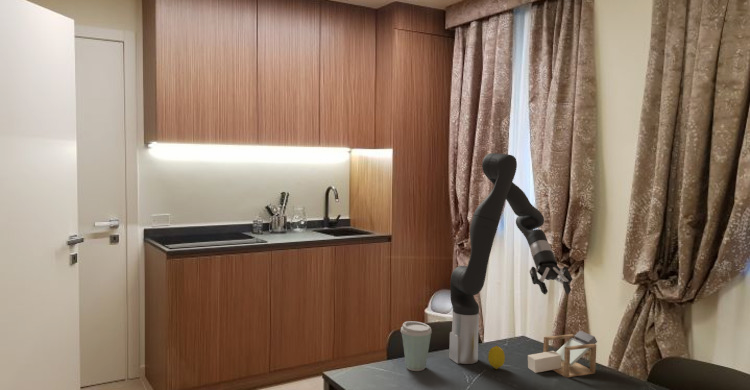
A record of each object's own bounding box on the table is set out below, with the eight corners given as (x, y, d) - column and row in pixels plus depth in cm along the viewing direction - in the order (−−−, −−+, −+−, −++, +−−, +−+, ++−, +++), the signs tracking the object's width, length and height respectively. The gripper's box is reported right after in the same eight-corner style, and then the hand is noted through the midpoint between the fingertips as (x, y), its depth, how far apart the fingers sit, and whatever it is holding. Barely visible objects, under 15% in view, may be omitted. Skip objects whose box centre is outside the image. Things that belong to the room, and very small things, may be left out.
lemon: (504, 372, 179) (505, 349, 179) (487, 371, 180) (488, 347, 180) (504, 366, 184) (504, 343, 184) (487, 365, 185) (488, 342, 185)
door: (572, 367, 178) (569, 362, 178) (554, 358, 187) (551, 353, 186) (599, 342, 182) (596, 337, 181) (580, 334, 190) (577, 329, 190)
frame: (566, 377, 176) (567, 348, 175) (542, 364, 187) (543, 337, 187) (595, 373, 180) (596, 344, 179) (570, 361, 191) (571, 334, 191)
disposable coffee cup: (433, 364, 186) (434, 321, 185) (429, 375, 175) (430, 330, 175) (402, 361, 188) (403, 318, 187) (397, 372, 178) (398, 327, 177)
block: (561, 367, 182) (535, 372, 179) (553, 363, 186) (528, 367, 184) (560, 355, 182) (534, 359, 179) (553, 350, 186) (527, 355, 183)
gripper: (528, 249, 194) (542, 287, 184) (564, 249, 197) (580, 286, 186) (521, 261, 200) (534, 299, 189) (556, 261, 202) (571, 298, 191)
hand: (557, 293), depth 188 cm, fingers open, 8 cm apart
